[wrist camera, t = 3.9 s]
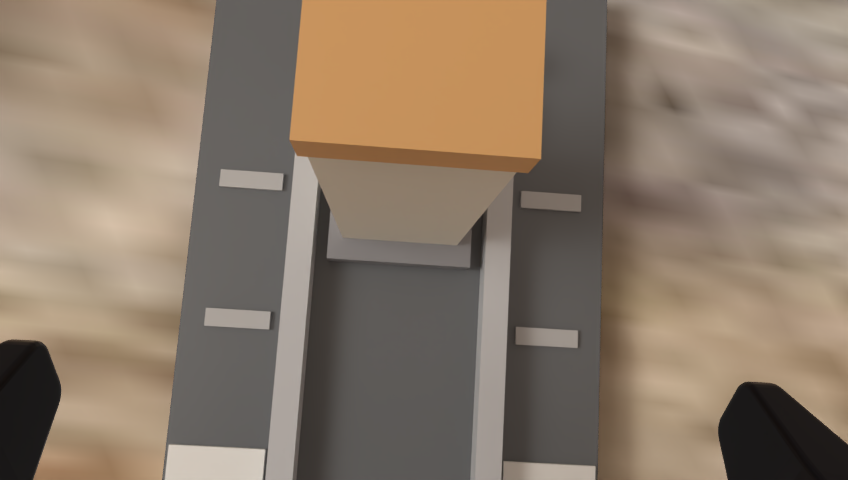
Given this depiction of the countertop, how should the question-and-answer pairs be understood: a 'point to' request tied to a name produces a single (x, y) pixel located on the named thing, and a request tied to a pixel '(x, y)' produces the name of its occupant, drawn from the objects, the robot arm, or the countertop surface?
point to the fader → (416, 119)
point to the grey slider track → (386, 294)
